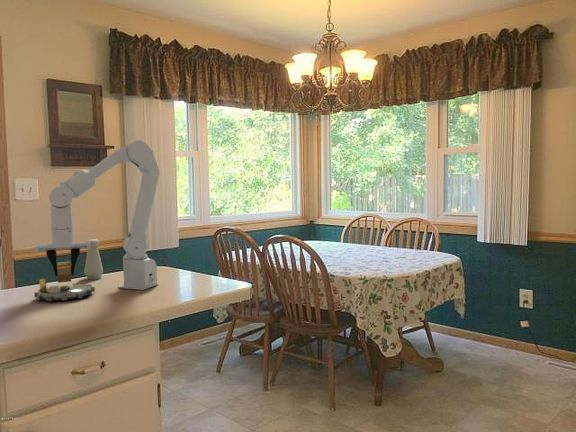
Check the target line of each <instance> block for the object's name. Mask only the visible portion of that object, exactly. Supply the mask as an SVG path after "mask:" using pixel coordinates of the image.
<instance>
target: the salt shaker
mask: <svg viewBox="0 0 576 432" xmlns="http://www.w3.org/2000/svg"><path fill="white" fill-rule="evenodd" d="M85 242H90V248H91V249H87V250H86V251H87V252H86V259H85V265H84V270H83V271H84V275H85V276H86V278H87V279H88V280H99V279H101V278H102V275H103V272H104V270H103V269H104V268H103V265H102V260H101V256H100V251H99V246H100V240H98V239H95V238H91V239H87V240H85Z"/></svg>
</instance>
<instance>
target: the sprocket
mask: <svg viewBox="0 0 576 432" xmlns="http://www.w3.org/2000/svg"><path fill="white" fill-rule="evenodd" d="M95 289H96V288H95V286H93V285H92V284H82V283H75V284H74V283H68V284H59V285H55V286H54V285H51V286H49V287H47V279H46V278H41V279H39V289H38V291H35V292H34V298H36V300H38V301H41V300H43V301H47V302H52V301H68V300H72V299H80V298H83V297H85V296H91V295H92V294H93V293H95Z"/></svg>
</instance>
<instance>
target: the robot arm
mask: <svg viewBox="0 0 576 432" xmlns="http://www.w3.org/2000/svg"><path fill="white" fill-rule="evenodd" d="M128 162H131V164H133V165H134V166H135V167H136V168H137V169H138V170H139V172H140V173H141V174H142V175H141V181H140V186H139V188H138V194H137V198H136V203H135V207H134V210H133V216H132V220H131V224H130V226H129V229H128V234H127V235H126V237H125V238H124V239H123V241H122V248H123V250H124V251H125V254H124V255H123V256H122V268H123V269H122V272H123V284H121V285H117V289H125V290H126V289H128V290H129V289H130V290H141V291H143V290H147V289H150V288H152V287H156V286H158V285H159V284H160V283H159V282H158V273H157V267H158V266H157V263H156V261H155V259H153V258H150V257H149V256H148V254H147V250H148V245H147V236H148V225H149V221H150V217H151V211H152V208H153V203H154V200H155V195H156V189H157V186H158V182H159V176H160V168H159V165H158V164H157V160H156V158H155V155H154V151H153V149H152V148H151V147H150V146H149V145H148V143H146V142H145V141H143V140H140V139H139V140H134V141H132V142H131V143H129V144H128V145H125V146H123V147H120V148H119V149H115V151H113V152H112V153H110V154H109V155H107V156H106V157H105V158H104V159H102V160H101V161H100V162H98V163H97V164H96V165H94V166H93V167H92V168H90V169H88V170H87V169H80V170H79V171H78V170H75V171H73V175H72V176H70V177H69V178H67V179H66V180H64V182H63V181H60V182H59V185H60V186H55V187H54V188H53V189H51V191H50V192H49V195H48V199H49V202H50V203H51V204H50V230H51V232H50V233H51V243H44V244H35V245H34V253H45V254H46V256H47V258H48V260H49V262H50V264H51V266H52V268H53V271H54V277H58V272H57V263H58V260H57V251H58V252H59V251H60V252H61V251H70V262H71V276H74V275H75V266H76V263H77V260H78V258H79V255H80V253H81V250H88V249H91V248H90V242H86V241H75V240H74V238H75V237H74V221H73V212H72V204H71V202H72V201H73V199H78V198H79V197H81V196H82V195H83V194H85V193H86V192H87V191H89V190H90V189H92V188H93V187H94V186H96V185H95V184H96V180H97V178H99V177H100V176H102V175H103V174H105V173H106V172H107V171H109V170H111V169H113V168H114V167H115V166H117V165H118V164H126V163H128Z"/></svg>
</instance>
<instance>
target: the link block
mask: <svg viewBox="0 0 576 432" xmlns="http://www.w3.org/2000/svg"><path fill="white" fill-rule="evenodd" d="M57 272H58V276H57V283H69V282H72V275H71V261H61V262H60V261H59V262H58V261H57Z"/></svg>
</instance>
